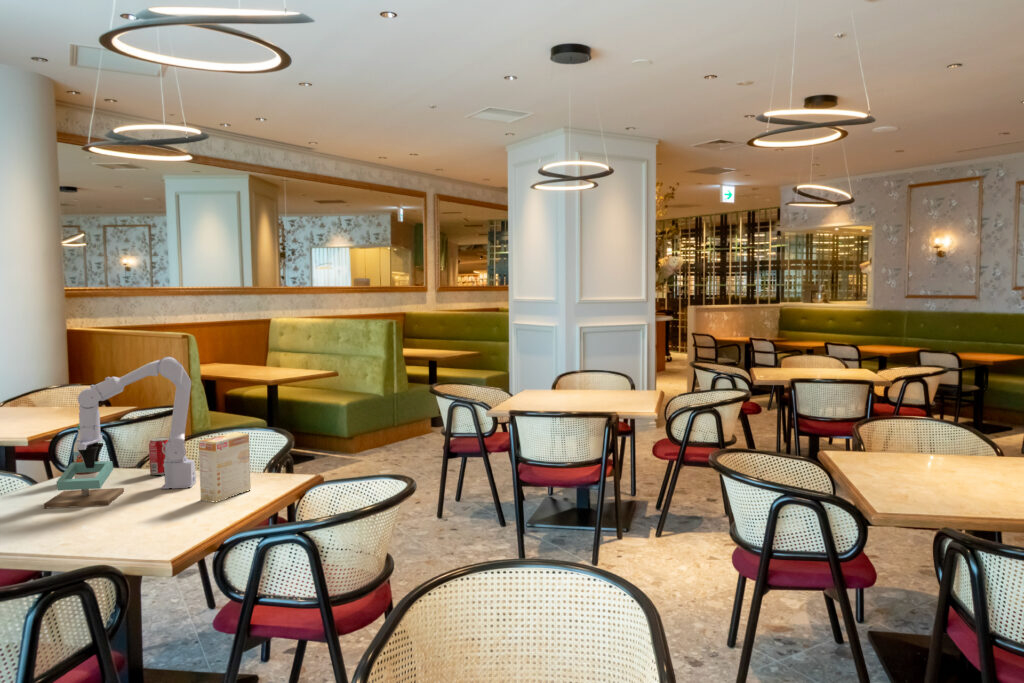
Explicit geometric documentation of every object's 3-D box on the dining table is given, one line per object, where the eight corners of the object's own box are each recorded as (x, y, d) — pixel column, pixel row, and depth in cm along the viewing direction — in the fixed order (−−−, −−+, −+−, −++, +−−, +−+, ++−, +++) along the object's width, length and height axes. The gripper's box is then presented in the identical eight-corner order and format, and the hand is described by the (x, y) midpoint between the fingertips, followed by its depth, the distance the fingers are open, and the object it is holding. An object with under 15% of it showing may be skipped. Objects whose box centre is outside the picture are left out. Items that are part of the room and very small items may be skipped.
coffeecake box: (235, 488, 237) (234, 431, 236) (251, 490, 234) (250, 433, 233) (199, 500, 224) (197, 440, 222) (215, 503, 221) (213, 442, 219)
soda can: (165, 476, 252) (164, 440, 251) (146, 476, 252) (144, 440, 251) (175, 471, 259) (174, 436, 258) (156, 471, 259) (155, 436, 258)
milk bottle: (71, 480, 247) (69, 424, 246) (96, 475, 253) (93, 421, 251) (78, 484, 242) (75, 427, 241) (103, 479, 248) (100, 423, 246)
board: (123, 492, 232) (123, 476, 232) (108, 505, 219) (107, 487, 218) (64, 495, 229) (63, 478, 228) (44, 508, 215) (43, 490, 215)
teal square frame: (113, 469, 231) (112, 461, 230) (100, 488, 219) (98, 480, 218) (73, 470, 228) (71, 462, 227) (57, 490, 217) (56, 482, 216)
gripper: (85, 422, 233) (87, 462, 234) (66, 430, 219) (68, 473, 220) (108, 421, 235) (110, 461, 236) (91, 429, 221) (93, 472, 222)
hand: (91, 466), depth 228 cm, fingers closed on teal square frame, 2 cm apart
